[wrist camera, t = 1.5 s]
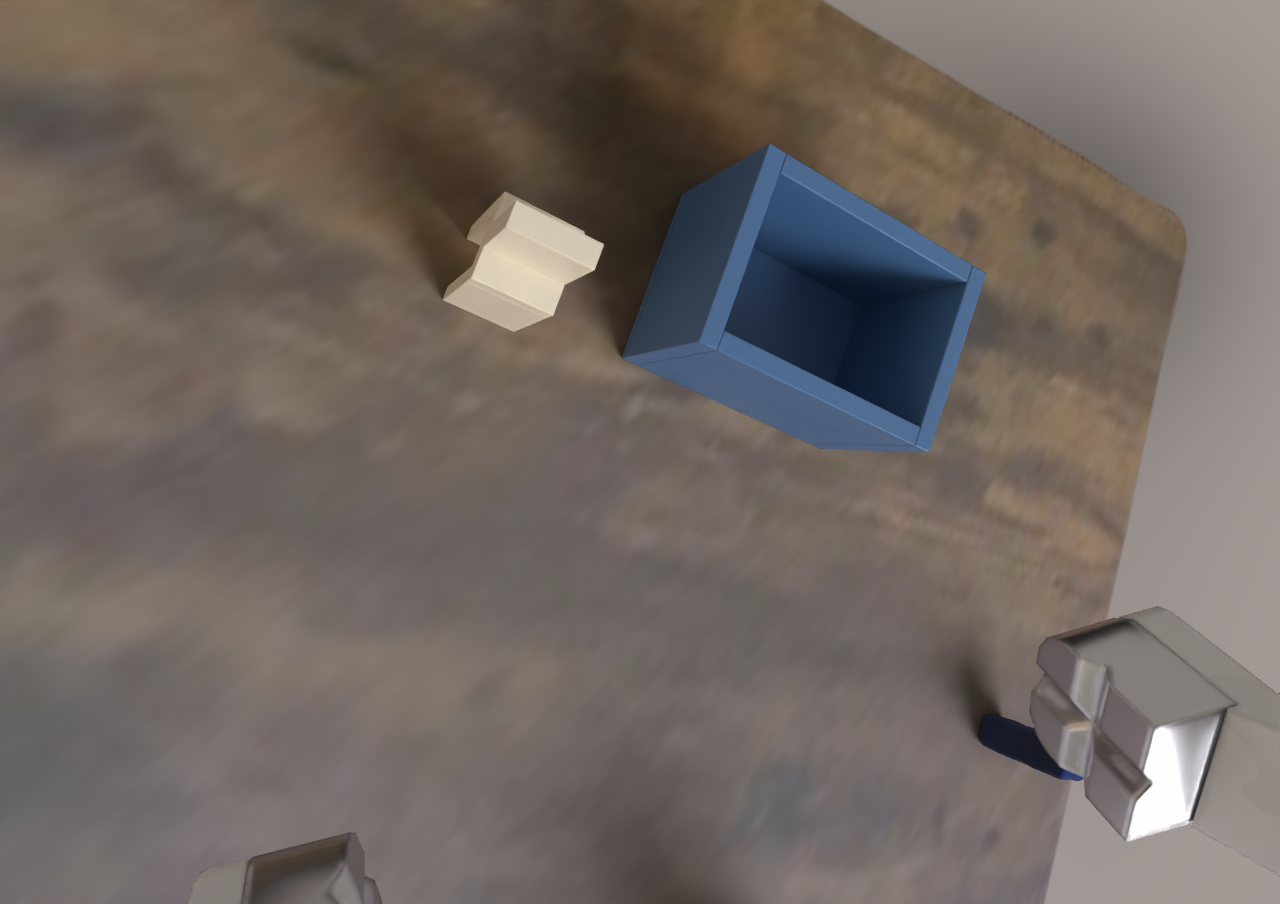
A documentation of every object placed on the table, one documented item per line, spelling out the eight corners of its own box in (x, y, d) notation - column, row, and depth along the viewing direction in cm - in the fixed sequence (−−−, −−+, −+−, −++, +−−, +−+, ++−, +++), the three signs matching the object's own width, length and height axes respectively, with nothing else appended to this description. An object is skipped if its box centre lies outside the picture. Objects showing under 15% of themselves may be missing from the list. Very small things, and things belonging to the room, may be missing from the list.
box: (621, 358, 48) (698, 341, 40) (681, 194, 50) (769, 142, 41) (821, 449, 54) (929, 452, 45) (871, 298, 55) (986, 273, 46)
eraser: (975, 744, 59) (1060, 781, 52) (982, 711, 59) (1067, 744, 53) (999, 748, 60) (1085, 785, 53) (1005, 715, 60) (1092, 748, 53)
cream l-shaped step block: (442, 300, 45) (491, 261, 35) (471, 225, 45) (529, 165, 35) (514, 332, 46) (581, 304, 36) (542, 259, 47) (617, 211, 37)
